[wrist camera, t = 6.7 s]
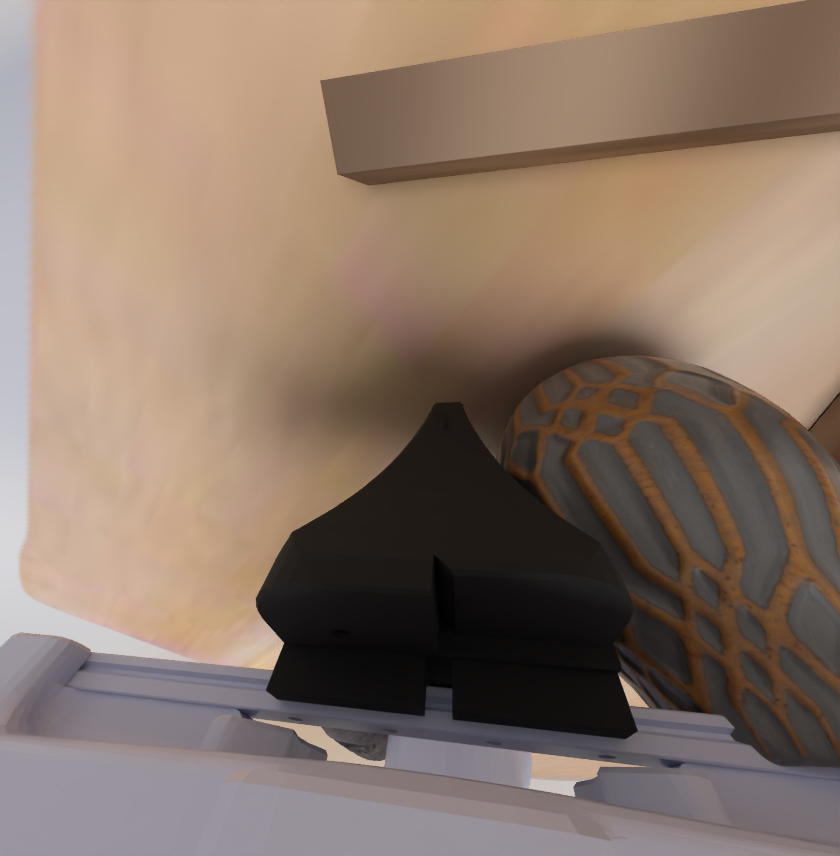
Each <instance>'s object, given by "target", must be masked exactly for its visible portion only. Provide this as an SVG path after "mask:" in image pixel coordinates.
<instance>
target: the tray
mask: <svg viewBox="0 0 840 856" xmlns="http://www.w3.org/2000/svg"><path fill="white" fill-rule="evenodd" d="M321 87H322V92H323V98H324V103H325V108H326V114H327V119H328V125H329V130H330V136H331V141H332V146H333V152H334V157H335V163H336V168H337V174H338V175H341V176H344V177H347V178H350V179H352V180H355V181H358V182H361V183H364V184H367V185H375V184H384V183H392V182H401V181H409V180H418V179H427V178H435V177H444V176H453V175H461V174H470V173H479V172H487V171H496V170H505V169H513V168H522V167H530V166H539V165H548V164H556V163H565V162H574V161H582V160H591V159H600V158H608V157H617V156H626V155H634V154H643V153H651V152H660V151H669V150H677V149H686V148H695V147H703V146H712V145H721V144H729V143H738V142H747V141H755V140H764V139H772V138H781V137H790V136H798V135H807V134H816V133H824V132H833V131H840V0H806V1H800V2H794V3H788V4H782V5H776V6H770V7H764V8H758V9H752V10H746V11H740V12H734V13H728V14H722V15H716V16H710V17H703V18H697V19H691V20H685V21H679V22H673V23H667V24H661V25H655V26H649V27H643V28H637V29H631V30H625V31H619V32H613V33H607V34H600V35H594V36H588V37H582V38H576V39H570V40H564V41H558V42H552V43H546V44H540V45H534V46H528V47H522V48H516V49H510V50H504V51H497V52H491V53H485V54H479V55H473V56H467V57H461V58H455V59H449V60H443V61H437V62H431V63H425V64H419V65H413V66H407V67H401V68H394V69H388V70H382V71H376V72H370V73H364V74H358V75H352V76H346V77H340V78H334V79H328V80H322V81H321ZM809 432H811V434H812V435H813V436H814V437H815V438H816V439H817V440H818V441H819V442H820V443H821V444H822V445H823V446H824V447H825V448H826V450H827V451H828V452H829V453H830V454H831V456H832V457H833V458H834V459H835V461H836V462H837V463H838V464H839V466H840V395H839V396H838V397H837V398H836V400H835V401H834V402H833V403H832V404H831V406H830V407H829V408H828V409H827V410H826V412H825V413H824V414H823V415H822V416H821V417H820V419H819V420H818V421H817V422H816V423H815V425H814V426H813V427H812V428H811V429H810V431H809Z"/></svg>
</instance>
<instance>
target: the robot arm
mask: <svg viewBox="0 0 840 856" xmlns="http://www.w3.org/2000/svg"><path fill="white" fill-rule="evenodd" d="M256 607H257V609H258V612H259V613H260V615H261V617H262V618H263V619H264V621H265V622H266V623H267V624H268V625H269V626H270V627H271V628H272V630H273V631H274V632H275V633H276V634H277V635H278V636H279V637H280V639H281V640H282V641H283V642H284V645H283V648H282V650H281V653H280V655H279V658H278V660H277V663H276V665H275V668H274V670H264V669H254V668H244V667H234V666H224V665H214V664H204V663H194V662H183V661H174V660H164V659H154V658H143V657H134V656H124V655H114V654H104V653H94V652H91V651H90V649H89V648H87V647H85V646H84V645H82V644H80V643H78V642H75V641H73V640H70V639H67V638H63V637H58V636H51V635H40V634H39V635H38V634H29V633H18V634H15V635H13V636H12V637H11V638H10V639H8V640H7V641H6V643H4V644H3V645H2V646H1V647H0V856H840V768H827V767H785V766H779V765H776V764H774V763H772V762H770V761H768V760H766V759H765V758H764V757H762V756H761V755H760V754H759V753H758V752H757V751H756V750H755V749H754V748H753V747H752V746H750V745H747V744H744V743H741V742H738V741H735V740H734V739H733V738H732V737H731V736H730V734H731V733H732V732H733V730H734V729H735V728H734V727H733V726H732V725H731V723H730V722H729V721H728V720H727V719H726V718H725V717H724V716H721V715H715V714H705V713H695V712H685V711H675V710H665V709H655V708H645V707H635V706H629V704H628V701H627V698H626V696H625V693H624V690H623V687H622V684H621V681H620V679H619V676H618V673H620V672H621V671H622V667H621V662H620V660H619V657H618V654H617V652H616V649H615V646H614V642H615V640H616V639H617V638H618V636H619V635H620V634H621V632H622V631H623V630H624V628H625V627H626V626H627V624H628V623H629V621H630V619H631V617H632V615H633V612H634V607H633V603H632V599H631V597H630V595H629V593H628V591H627V588H626V586H625V584H624V582H623V580H622V578H621V576H620V574H619V573H618V571H617V569H616V567H615V566H614V564H613V562H612V561H611V559H610V558H609V556H608V554H607V553H606V551H605V549H604V548H603V546H602V544H601V543H600V542H598V541H597V540H595V539H594V538H592V537H591V536H589V535H588V534H586V533H585V532H583V531H581V530H580V529H578V528H577V527H575V526H574V525H572V524H571V523H569V522H568V521H566V520H565V519H563V518H562V517H560V516H559V515H557V514H556V513H555V512H553V511H552V510H551V509H549V508H548V507H547V506H545V505H544V504H543V503H541V502H540V501H539V500H538V499H536V498H535V497H534V496H533V495H532V494H531V493H530V492H528V491H527V490H526V489H525V488H524V487H523V486H521V485H520V484H519V483H518V482H517V481H516V480H515V479H514V478H513V477H512V476H511V475H510V474H509V473H508V472H507V471H506V470H505V469H504V468H503V467H502V466H501V465H500V463H499V462H498V461H497V460H496V459H495V458H494V456H493V455H492V454H491V453H490V451H489V450H488V449H487V447H486V446H485V445H484V443H483V442H482V441H481V439H480V438H479V436H478V434H477V433H476V431H475V430H474V428H473V426H472V425H471V423H470V421H469V419H468V417H467V415H466V413H465V410H464V408H463V405H462V404H461V403H460V402H446V403H436V404H435V405H434V406H433V408H432V410H431V412H430V413H429V415H428V417H427V418H426V420H425V422H424V423H423V425H422V426H421V427H420V429H419V430H418V432H417V433H416V435H415V436H414V437H413V439H412V440H411V441H410V442H409V443H408V445H407V446H406V447H405V448H404V450H403V451H402V452H401V453H400V454H399V455H398V456H397V457H396V458H395V459H394V461H393V462H392V463H391V464H390V465H388V466H387V467H386V468H385V469H384V470H383V471H382V472H381V473H380V474H379V475H378V476H377V477H375V478H374V479H373V480H372V481H371V482H369V483H368V484H367V485H366V486H365V487H363V488H362V489H361V490H359V491H358V492H357V493H355V494H354V495H352V496H351V497H350V498H348V499H347V500H345V501H344V502H342V503H341V504H339V505H338V506H336V507H335V508H333V509H332V510H330V511H328V512H327V513H325V514H323V515H321V516H320V517H318V518H316V519H315V520H313V521H311V522H309V523H308V524H306V525H304V526H302V527H301V528H299V529H297V530H295V531H293V532H292V533H291V535H290V537H289V538H288V540H287V541H286V543H285V545H284V546H283V548H282V549H281V551H280V553H279V555H278V557H277V558H276V560H275V562H274V564H273V566H272V568H271V570H270V572H269V574H268V576H267V578H266V580H265V582H264V584H263V586H262V587H261V589H260V591H259V593H258V595H257V597H256ZM252 718H256V719H265V720H273V721H281V722H289V723H298V724H305V725H313V726H321V727H330V728H338V729H346V730H354V731H362V732H370V733H378V734H386V735H388V743H387V751H386V758H385V767H378V766H369V765H361V764H353V763H345V762H334V761H326V760H327V752H326V750H324V749H322V748H319V747H317V746H314V745H312V744H309V743H308V742H306V741H305V740H303V739H301V738H300V737H298V735H297V734H296V732H295V731H294V730H292V729H288V728H284V727H280V726H276V725H271V724H267V723H263V722H258V721H254V720H253V719H252ZM531 752H532V753H541V754H549V755H557V756H565V757H573V758H581V759H589V760H597V761H605V762H614V763H622V764H630V765H638V766H646V767H600V769H599V771H598V773H597V775H598V776H597V777H595V778H594V779H591V780H586V781H581V782H577V783H576V784H575V786H574V792H575V797H572V796H567V795H561V794H555V793H550V792H544V791H537V790H533V789H529V785H530V780H531V772H532V757H531Z"/></svg>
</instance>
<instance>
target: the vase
mask: <svg viewBox="0 0 840 856" xmlns="http://www.w3.org/2000/svg"><path fill="white" fill-rule="evenodd" d="M497 461H498V462H499V463H500V465H501V466H502V467H503V468H504V469H505V470H506V471H507V472H508V473H509V474H510V475H511V476H512V477H513V478H514V479H515V480H516V481H517V482H518V483H519V484H520V485H521V486H523V487H524V488H525V489H526V490H527V491H528V492H530V493H531V494H532V495H533V496H534V497H535V498H536V499H538V500H539V501H540V502H541V503H543V504H544V505H545V506H547V507H548V508H549V509H551V510H552V511H553V512H555V513H556V514H557V515H559V516H560V517H562V518H563V519H565V520H566V521H568V522H569V523H571V524H572V525H574V526H575V527H577V528H578V529H580V530H581V531H583V532H585V533H586V534H588V535H589V536H591V537H592V538H594V539H595V540H597V541H598V542H600V543H601V544H602V546H603V548H604V549H605V551H606V553H607V554H608V556H609V558H610V559H611V561H612V562H613V564H614V566H615V567H616V569H617V571H618V573H619V574H620V576H621V578H622V580H623V582H624V584H625V586H626V588H627V591H628V593H629V595H630V597H631V599H632V603H633V607H634V612H633V615H632V617H631V619H630V621H629V623H628V624H627V626H626V627H625V628H624V630H623V631H622V632H621V634H620V635H619V636H618V638H617V639H616V640H615V642H614V646H615V649H616V652H617V654H618V657H619V660H620V662H621V667H622V671H621V672H620V673H618V675H619V676H621V677H622V678H623V679H624V680H625V681H626V682H627V683H628V684H629V685H630V686H631V687H632V688H633V689H634V690H635V691H636V693H637V694H638V695H639V696H640V697H641V698H642V699H643V701H644V702H645V703H646V704H647V705H648V706H649V708H655V709H665V710H675V711H685V712H695V713H705V714H715V715H721V716H724V717H725V718H726V719H727V720H728V721H729V722H730V723H731V725H732V726H733V727H734V728H735V729H734V730H733V732H732V733H731V734H730V736H731V737H732V738H733V739H734V740H735V741H738V742H741V743H744V744H747V745H750V746H752V747H753V748H754V749H755V750H756V751H757V752H758V753H759V754H760V755H761V756H762V757H764V758H765V759H766V760H768V761H770V762H772V763H774V764H776V765H779V766H785V767H827V768H840V466H839V464H838V463H837V462H836V461H835V459H834V458H833V457H832V456H831V454H830V453H829V452H828V451H827V450H826V448H825V447H824V446H823V445H822V444H821V443H820V442H819V441H818V440H817V439H816V438H815V437H814V436H813V435H812V434H811V432H809V431H808V430H807V429H806V428H805V427H804V426H803V425H801V424H800V423H799V422H798V421H797V420H796V419H794V418H793V417H792V416H791V415H790V414H789V413H787V412H786V411H785V410H783V409H782V408H780V407H779V406H777V405H776V404H774V403H773V402H771V401H769V400H768V399H766V398H765V397H763V396H762V395H760V394H759V393H757V392H755V391H753V390H751V389H749V388H747V387H745V386H744V385H742V384H740V383H738V382H736V381H734V380H732V379H730V378H728V377H725V376H723V375H721V374H719V373H716V372H714V371H712V370H709V369H706V368H704V367H700V366H697V365H693V364H689V363H685V362H682V361H678V360H673V359H668V358H660V357H652V356H641V355H628V356H610V357H603V358H597V359H593V360H589V361H585V362H582V363H579V364H576V365H573V366H571V367H568V368H566V369H564V370H562V371H560V372H558V373H556V374H554V375H553V376H551V377H549V378H548V379H546V380H545V381H543V382H542V383H540V384H539V385H538V386H537V387H535V388H534V389H533V390H532V391H531V392H530V393H529V394H528V395H527V396H526V397H525V398H524V399H523V400H522V401H521V402H520V404H519V405H518V406H517V408H516V409H515V411H514V412H513V414H512V415H511V417H510V419H509V421H508V423H507V425H506V427H505V429H504V432H503V435H502V438H501V441H500V444H499V448H498V453H497Z"/></svg>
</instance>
